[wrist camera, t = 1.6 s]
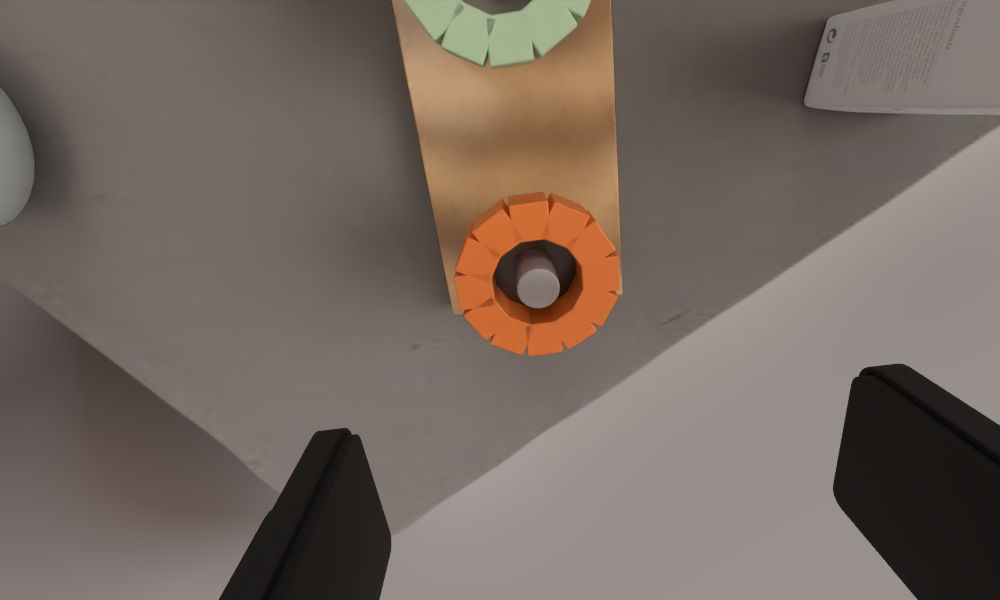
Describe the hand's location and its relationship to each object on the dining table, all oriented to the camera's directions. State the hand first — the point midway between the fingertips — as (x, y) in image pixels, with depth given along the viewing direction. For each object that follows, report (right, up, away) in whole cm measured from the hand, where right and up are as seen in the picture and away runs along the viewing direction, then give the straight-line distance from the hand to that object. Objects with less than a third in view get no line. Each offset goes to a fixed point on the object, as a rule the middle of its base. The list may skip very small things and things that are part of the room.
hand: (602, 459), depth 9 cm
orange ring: (0, +5, +13) cm, 14 cm away
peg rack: (-1, +12, +16) cm, 20 cm away
